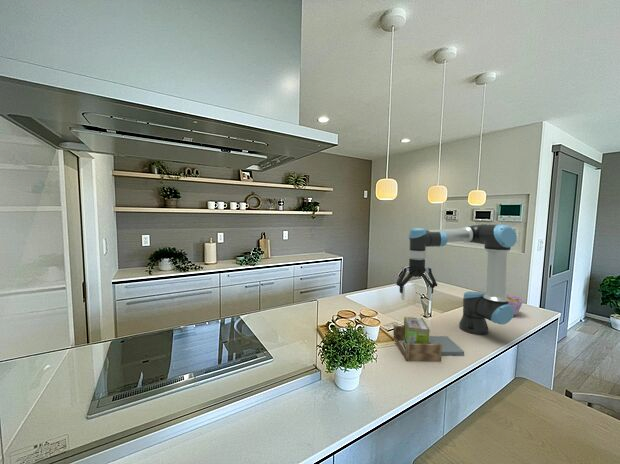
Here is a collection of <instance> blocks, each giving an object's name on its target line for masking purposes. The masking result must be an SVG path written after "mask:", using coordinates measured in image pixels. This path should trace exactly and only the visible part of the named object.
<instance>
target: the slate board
mask: <svg viewBox="0 0 620 464" xmlns="http://www.w3.org/2000/svg"><path fill="white" fill-rule="evenodd" d="M438 343H441V344H442V354H441V357H443V356H446V357H447V356H448V357H449V356H452V357H455V356H457V357H459V356H461V357H464V356H465V351H464V350H463V349H462V348H461V347H460V346H459V345H457V344H456V343H455V342H454V341H453V340H452V339H451V338H450V337H449V336H446V335H429V344H438Z"/></svg>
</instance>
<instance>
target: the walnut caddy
mask: <svg viewBox="0 0 620 464" xmlns="http://www.w3.org/2000/svg"><path fill="white" fill-rule="evenodd" d="M392 332H393V337H392V338H393V339H394V340H395V342H396V343H395V342H394V343H395V345H396V346H397V348H398V350H399V351H400V353H401V354H402V355H403V357H404V359H405V361H406V362H442V356H441V354H442V344H441V343H438V344H410V343H406V348H405V347H403V345H402V344H401V342H404V325H396V324H394V325H393V331H392ZM393 339H392V340H393ZM394 340H393V341H394Z"/></svg>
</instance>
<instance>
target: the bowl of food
mask: <svg viewBox="0 0 620 464" xmlns="http://www.w3.org/2000/svg"><path fill="white" fill-rule="evenodd" d="M505 296H506V297H507V298H508V299H509V305H510V306H512V307H513V309H514V315H516V314H518V313H520V310H521V307H522V305H523V302H524V300H523V299H522V298H520V297H517V296H515V295H511V294H506V293H505Z"/></svg>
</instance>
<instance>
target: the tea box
mask: <svg viewBox="0 0 620 464" xmlns="http://www.w3.org/2000/svg"><path fill="white" fill-rule="evenodd" d="M403 326H404V341H403V344H404V349H406V343H410V344H429V336H430V333H431V332H430V327H429V326H428V324H427V323H426V321H425V319H424V318H423V317H414V316H413V317H412V316H404V318H403Z"/></svg>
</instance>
